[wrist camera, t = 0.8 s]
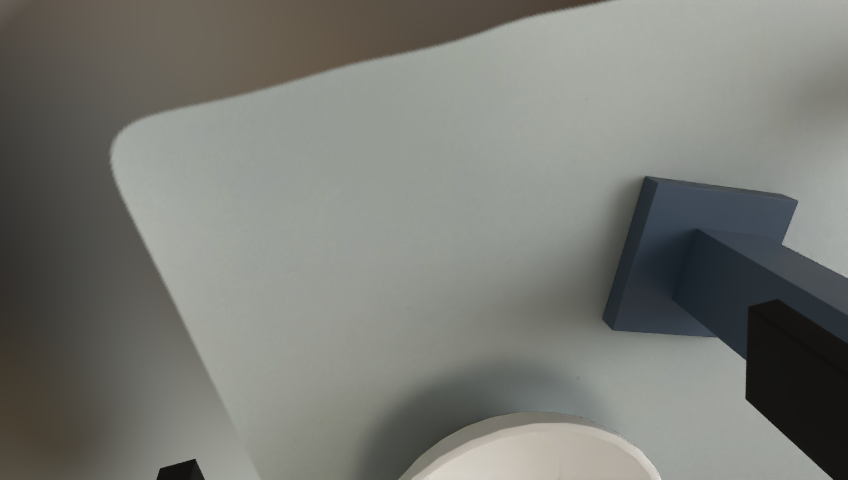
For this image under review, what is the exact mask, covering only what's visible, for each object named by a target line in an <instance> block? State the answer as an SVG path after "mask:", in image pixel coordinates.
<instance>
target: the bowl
mask: <svg viewBox="0 0 848 480" xmlns="http://www.w3.org/2000/svg"><path fill="white" fill-rule="evenodd" d="M398 480H661V478H660V476H659V474H658V472H657V469H656V468H655V467H654V465H653V464H652V463H651V462H650V461H649V460H648V458H647V457H646V456H645V455H644V454H643V453H642V451H641V450H639V449H638V448H637V447H636V446H635V445H633V444H632V443H630V442H629V441H627V440H626V439H624V438H623V437H622V436H620V435H619V434H617V433H616V432H614V431H612V430H610V429H608V428H606V427H604V426H602V425H600V424H597V423H595V422H592V421H589V420H587V419H584V418H582V417H577V416H571V415H566V414H560V413H553V412H517V413H512V414H506V415H501V416H496V417H491V418H488V419H485V420H482V421H480V422H477V423H474V424H471V425H468V426H466V427H464V428H462V429H460V430H458V431H456V432H455V433H453V434H451V435H449V436H447V437H445V438H443V439H442V440H440V441H439V442H438V443H437V444H435V445H434V446H433V447H431V448H430V449H429V450H427V451H426V452H425V453H423V454H422V455H421V456H420V457H419V458H418V459H417V460H416V461H415V462H414V463H413V464H412V465H411V467H410V468H409V469H408V470H407V471H406V472H405V473H404V474H403V475H402V476H401V477H400V478H399V479H398Z"/></svg>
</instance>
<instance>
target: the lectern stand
mask: <svg viewBox="0 0 848 480" xmlns="http://www.w3.org/2000/svg"><path fill="white" fill-rule="evenodd" d="M797 204H798V201H797V200H795V199H792V198H790V197H787V196H785V195H782V194H776V193H768V192H761V191H753V190H746V189H738V188H731V187H723V186H716V185H708V184H700V183H693V182H685V181H678V180H670V179H663V178H655V177H648V176H646V177H645V180H644V183H643V187H642V190H641V193H640V197H639V200H638V203H637V206H636V210H635V213H634V216H633V220H632V223H631V226H630V230H629V233H628V236H627V240H626V243H625V246H624V250H623V253H622V256H621V260H620V263H619V266H618V270H617V273H616V276H615V280H614V283H613V286H612V290H611V293H610V296H609V300H608V303H607V306H606V309H605V313H604V316H603V320H604V322H605V323H606V324H607V325H608V326H609V327H610V328H611V329H612V330H615V331H630V332H644V333H659V334H674V335H688V336H703V337H718V338H719V339H720V340H722V341H723V342H724V343H725V344H727V345H728V346H729V347H730V348H731V349H733V350H734V351H735V352H736V353H738V354H739V355H740V356H741V357H742V358H744V359H745V360H746V361H747V324H748V307H749V306H753V305H756V304H760V303H764V302H767V301H771V300H775V299H779V300H780V301H782V302H784V303H785V304H787V305H788V306H790V307H791V308H793V309H795V310H796V311H798V312H799V313H801V314H802V315H804V316H806V317H807V318H809V319H810V320H812V321H813V322H815V323H816V324H818V325H820V326H821V327H823V328H824V329H826V330H827V331H829V332H831V333H832V334H834V335H835V336H837V337H838V338H840V339H841V340H843V341H845V342H846V343H848V278H846V277H844V276H842V275H840V274H838V273H836V272H834V271H832V270H830V269H828V268H826V267H824V266H823V265H821V264H819V263H817V262H815V261H813V260H811V259H809V258H807V257H805V256H803V255H801V254H799V253H797V252H795V251H793V250H791V249H789V248H787V247H785V246H783V245H781V244H782V242H783V239H784V236H785V234H786V231H787V229H788V226H789V224H790V221H791V219H792V216H793V214H794V211H795V209H796V206H797Z"/></svg>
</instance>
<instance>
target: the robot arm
mask: <svg viewBox="0 0 848 480" xmlns="http://www.w3.org/2000/svg"><path fill="white" fill-rule="evenodd" d="M745 399H746V400H747V401H748V402H749V403H750V404H752V405H753V406H754V407H755V408H756V409H757V410H758V411H759V412H760V413H761V414H762V415H764V416H765V417H766V418H767V419H768V420H769V421H770V422H771V423H772V424H773V425H774V426H775V427H777V428H778V429H779V430H780V431H781V432H782V433H783V434H784V435H785V436H786V437H787V438H789V439H790V440H791V441H792V442H793V443H794V444H795V445H796V446H797V447H798V448H799V449H801V450H802V451H803V452H804V453H805V454H806V455H807V456H808V457H809V458H810V459H811V460H812V461H814V462H815V463H816V464H817V465H818V466H819V467H820V468H821V469H822V470H823V471H824V472H826V473H827V474H828V475H829V476H830V477H831V478H832V479H833V480H848V343H846V342H845V341H843V340H841V339H840V338H838V337H837V336H835V335H834V334H832V333H831V332H829V331H827V330H826V329H824V328H823V327H821V326H820V325H818V324H816V323H815V322H813V321H812V320H810V319H809V318H807V317H806V316H804V315H802V314H801V313H799V312H798V311H796V310H795V309H793V308H791V307H790V306H788V305H787V304H785V303H784V302H782V301H780V300H779V299H775V300H771V301H767V302H764V303H760V304H756V305H753V306H749V307H748V324H747V361H746V397H745ZM157 480H205V479H204V477H203V475H202V473H201V470H200V468H199V466H198V464H197V462H196V459H193V460H190V461H186V462H182V463H178V464H175V465H171V466H167V467H164V468H160V470H159V473H158V477H157Z"/></svg>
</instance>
